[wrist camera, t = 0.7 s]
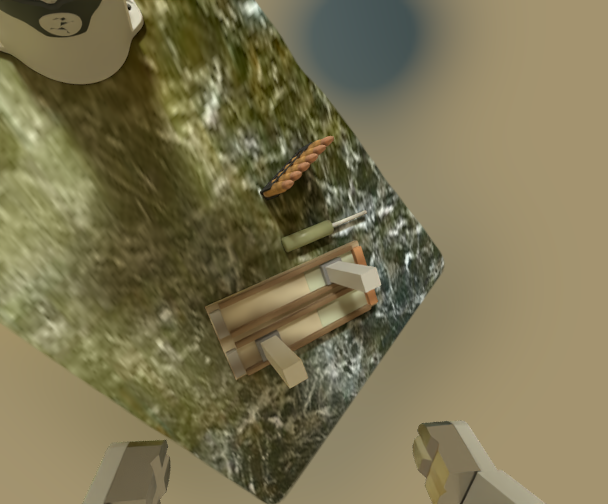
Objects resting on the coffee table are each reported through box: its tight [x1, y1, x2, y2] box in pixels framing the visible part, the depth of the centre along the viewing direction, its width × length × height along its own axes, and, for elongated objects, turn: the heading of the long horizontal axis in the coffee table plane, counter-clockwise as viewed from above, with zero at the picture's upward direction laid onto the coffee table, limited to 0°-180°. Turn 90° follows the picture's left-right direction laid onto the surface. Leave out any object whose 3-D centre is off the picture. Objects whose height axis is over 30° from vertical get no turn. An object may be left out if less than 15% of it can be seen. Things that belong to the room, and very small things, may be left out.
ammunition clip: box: [260, 136, 334, 200], centre depth 48 cm, size 11×2×12 cm, turn 137°
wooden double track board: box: [205, 241, 378, 380], centre depth 55 cm, size 13×29×2 cm, turn 110°
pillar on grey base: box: [319, 257, 381, 293], centre depth 51 cm, size 4×4×12 cm
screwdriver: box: [281, 210, 367, 252], centre depth 56 cm, size 17×3×3 cm, turn 110°
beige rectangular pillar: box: [255, 330, 308, 388], centre depth 47 cm, size 4×4×12 cm
